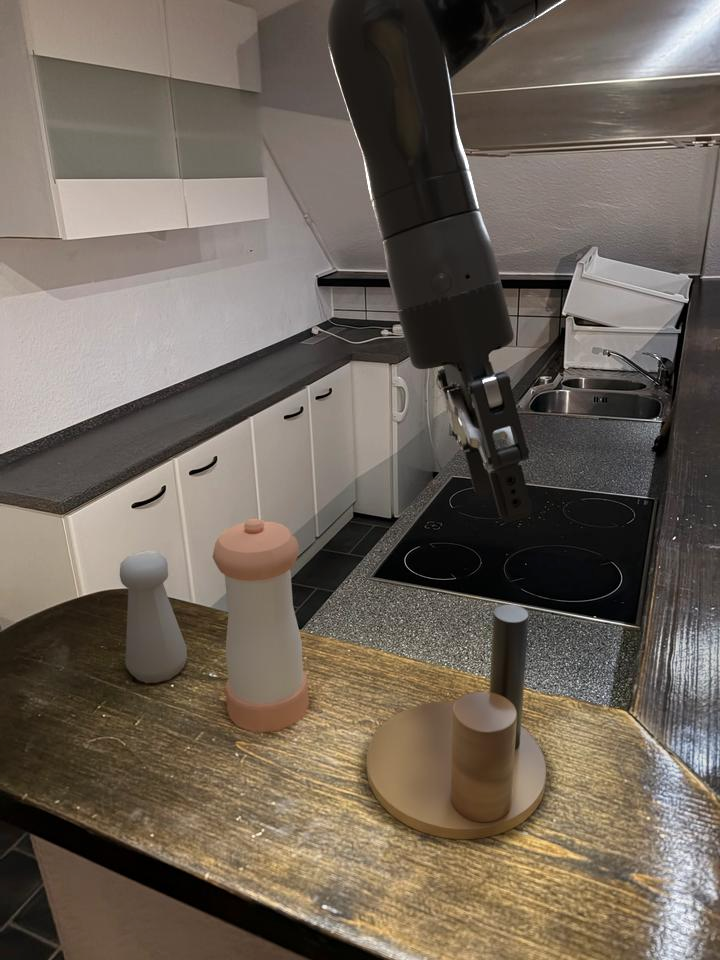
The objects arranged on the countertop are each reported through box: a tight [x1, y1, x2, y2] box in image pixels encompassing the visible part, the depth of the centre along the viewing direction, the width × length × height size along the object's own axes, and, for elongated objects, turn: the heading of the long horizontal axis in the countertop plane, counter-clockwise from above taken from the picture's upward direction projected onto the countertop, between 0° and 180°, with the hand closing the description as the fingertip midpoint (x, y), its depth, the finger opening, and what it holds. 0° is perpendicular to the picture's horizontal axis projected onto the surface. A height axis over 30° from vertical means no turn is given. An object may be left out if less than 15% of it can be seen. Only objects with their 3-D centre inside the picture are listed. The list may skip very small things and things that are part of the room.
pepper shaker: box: [212, 518, 310, 733], centre depth 65 cm, size 7×7×19 cm
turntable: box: [366, 604, 547, 840], centre depth 58 cm, size 14×14×13 cm
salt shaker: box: [119, 550, 188, 684], centre depth 72 cm, size 6×6×13 cm
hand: (502, 504), depth 57 cm, fingers open, 8 cm apart
